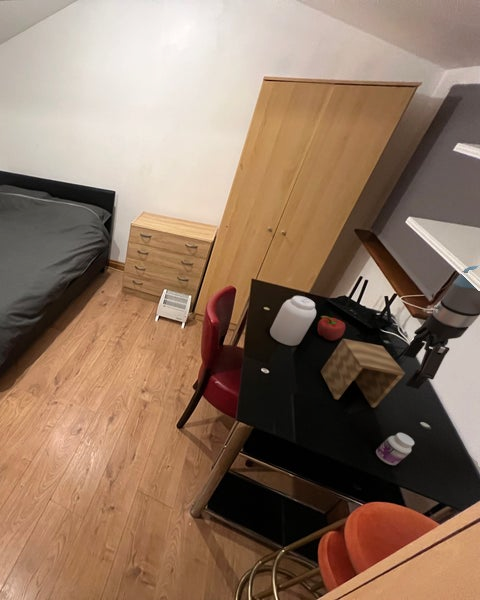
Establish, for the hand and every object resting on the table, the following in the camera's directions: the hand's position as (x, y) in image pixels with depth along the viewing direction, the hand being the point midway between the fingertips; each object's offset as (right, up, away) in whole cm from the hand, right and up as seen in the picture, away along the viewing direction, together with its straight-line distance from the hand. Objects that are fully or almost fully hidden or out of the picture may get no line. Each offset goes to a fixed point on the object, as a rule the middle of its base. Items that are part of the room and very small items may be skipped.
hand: (409, 370), depth 100 cm
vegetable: (+10, +5, +48) cm, 49 cm away
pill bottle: (-10, -26, -2) cm, 28 cm away
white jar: (-11, +5, +45) cm, 46 cm away
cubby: (-3, -11, +21) cm, 24 cm away
